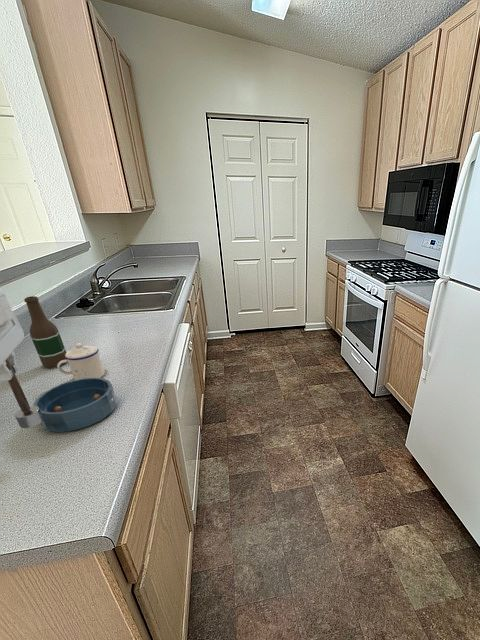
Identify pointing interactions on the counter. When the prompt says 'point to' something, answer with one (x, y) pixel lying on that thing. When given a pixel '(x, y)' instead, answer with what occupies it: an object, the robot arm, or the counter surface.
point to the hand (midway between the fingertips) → (10, 375)
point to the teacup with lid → (83, 362)
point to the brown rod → (23, 404)
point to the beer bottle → (45, 335)
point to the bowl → (76, 404)
